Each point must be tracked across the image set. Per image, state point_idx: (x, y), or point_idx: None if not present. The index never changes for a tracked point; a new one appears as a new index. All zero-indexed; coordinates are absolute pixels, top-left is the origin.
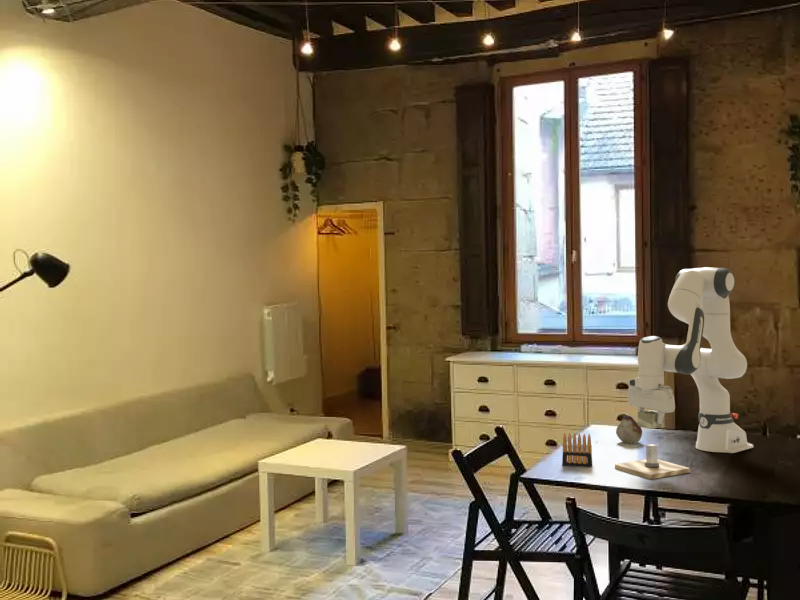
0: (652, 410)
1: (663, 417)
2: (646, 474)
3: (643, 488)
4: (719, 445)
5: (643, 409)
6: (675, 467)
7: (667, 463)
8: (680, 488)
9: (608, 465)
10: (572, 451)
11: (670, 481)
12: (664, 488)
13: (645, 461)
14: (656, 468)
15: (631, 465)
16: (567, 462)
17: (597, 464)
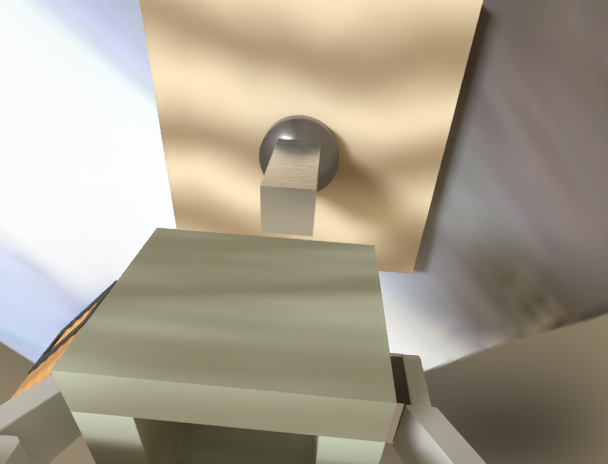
0: (81, 376)
1: (384, 349)
2: (389, 270)
3: (470, 351)
4: None
5: (26, 458)
6: (406, 67)
7: (304, 24)
8: (586, 272)
9: (129, 229)
10: (46, 359)
11: (494, 226)
12: (531, 309)
13: (197, 101)
14: (350, 171)
15: (235, 219)
16: (64, 331)
17: (96, 249)
